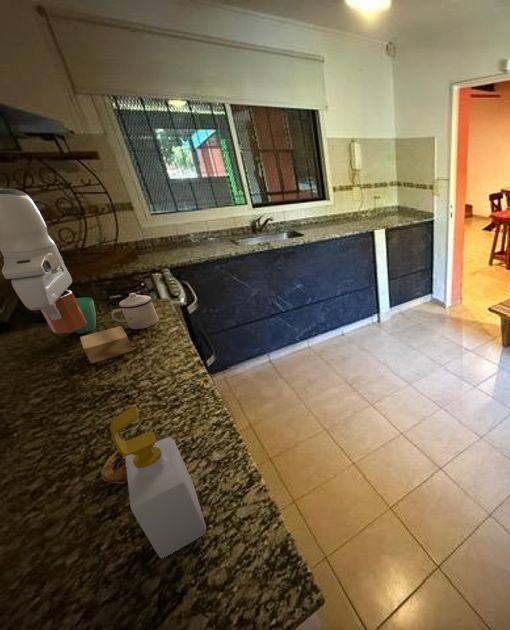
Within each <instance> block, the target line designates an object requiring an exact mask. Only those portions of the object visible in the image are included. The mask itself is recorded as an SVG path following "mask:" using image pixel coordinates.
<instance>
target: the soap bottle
mask: <svg viewBox="0 0 510 630" xmlns="http://www.w3.org/2000/svg"><path fill="white" fill-rule="evenodd" d="M139 413H140V412H139V408H138V407H137V406H136V405H134V406H131V407H130V408H128V409H127V410H125V411H123V412H121V413H120V414H118V415H117V416H115V417H114V418H112V420H111V421H110V437H111V440H112V442H113V443H114V446H115V447H116V449H117V450H118V451H119V453H120V454H121V455H122V456H126V458H125V460H126V470H127V479H128V483H127V488H128V496H129V497H128V498H129V505H130V506H129V507H130V511H131V512H132V514H133V515H134V517H135V519H136V520H137V522H138V524H139V526H140V528H141V529H142V530H143V532H144V534H145V536H146V538H147V539H148V541H149V542H150V544H151V546H152V548H153V549H154V551H155V553H156V554H157V556H158V557H159V558H160V559H162V558H163V559H165V558H167V557H169V556H171V555H172V554H174V553H176V552H177V551H180V550H181V549H182V548H184V547H186V546H187V545H190V544H191V543H192V542H194V541H196V540H198V539H199V538H201V537H203V536H204V535H205V534H206V533H207V525H206V521H205V518H204V515H203V511H202V508H201V505H200V501H199V498H198V494H197V492H196V488H195V484H194V482H193V479H192V477H191V475H190V473H189V471H188V469H187V466H186V464H185V461H184V459H183V457H182V455H181V452H180V450H179V448H178V446H177V443H176V442H175V440H174V439H173V438H172V437H171V436H169V437H166V438H163V440H161V441H158V442H156V438H155V435H156V434H155V431H151V430H150V431H147V432H145V433H143V434H140V435H138V436H134V437H133V438H130V439H127V440H124V439H122V437H120V434H119V432H120V431H122V430H123V429H124V428H127V427H128V426H129V425H130V424H133V423H134V422H135V421H137V420H138V419H139V417H140V414H139ZM175 551H176V552H175ZM173 552H174V553H173ZM170 554H171V555H170ZM168 555H169V556H168ZM166 556H167V557H166ZM164 557H165V558H164ZM163 559H162V560H163Z"/></svg>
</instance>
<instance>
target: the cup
mask: <svg viewBox="0 0 510 630" xmlns="http://www.w3.org/2000/svg"><path fill="white" fill-rule="evenodd" d="M55 304H56V308H57V309H58V310H60V311H61V314H62V317H61V318H60V319H57V320H52V319H51V318H50V316H49V314H47V313H46V312H45V311H44V310H43V309H41V310H40V312H41V314H42V315H43V317H44V319H45V321H46V323H47V324H48V326H49V329H50V330H51V332H52V333H53V334H65V333H71V332H75V331H74V330H77V329H80V328H82V327H84V326H85V325H86V324H87V322H86V320H85V317H84V315H83V313H82V311H81V309H80V307H79V305H78V303H77V301H76V297H75V295H74V293H73V291H72V290H70V289H69V290H68V289H67V290H65V291H64V292H63V294H62V295H61V296H60V297H59V298H58V299H57V301H56V302H55Z"/></svg>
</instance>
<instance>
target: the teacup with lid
mask: <svg viewBox="0 0 510 630" xmlns="http://www.w3.org/2000/svg"><path fill="white" fill-rule="evenodd" d="M118 307H119V308H117V309H114V310H112V311H111V315H110V316H111V318H112V320H114V321H115V322H117V323H120V324H121V323H127V325H128V326H127V327H128V328H129V329H130V330H131V329H132V330H141V329H142V330H143V329H148V328H151V327H152V326H155V325H156V324H158V323H159V321H160V318H159V316H158V314H157V311H156V308H155V306H154V303H153V299H152V297H151V296H150V295H141V294H137V293H136V292H131V293H129V294H128V296H127V297H126V298H125V299H123V300H121V301H120V302H119V303H118ZM119 312H122V314H123V317H124V318H125V319H119V318H117V317H116V316H115V314H116V313H119Z"/></svg>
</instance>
